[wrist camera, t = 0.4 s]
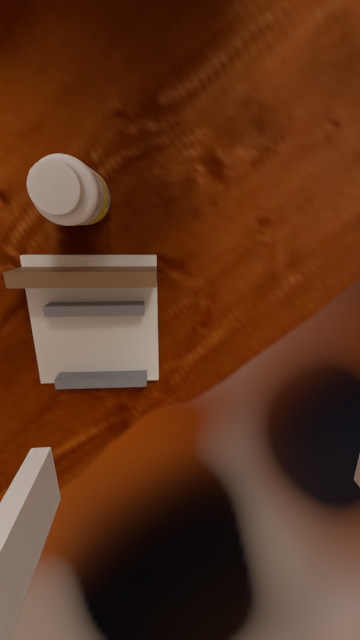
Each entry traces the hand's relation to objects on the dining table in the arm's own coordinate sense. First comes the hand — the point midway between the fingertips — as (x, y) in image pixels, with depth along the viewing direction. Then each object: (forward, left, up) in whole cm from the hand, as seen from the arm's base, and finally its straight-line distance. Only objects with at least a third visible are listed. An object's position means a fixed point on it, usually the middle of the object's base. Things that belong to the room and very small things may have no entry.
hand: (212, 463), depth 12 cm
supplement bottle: (-12, -10, -25) cm, 30 cm away
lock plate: (+2, -10, -25) cm, 27 cm away
